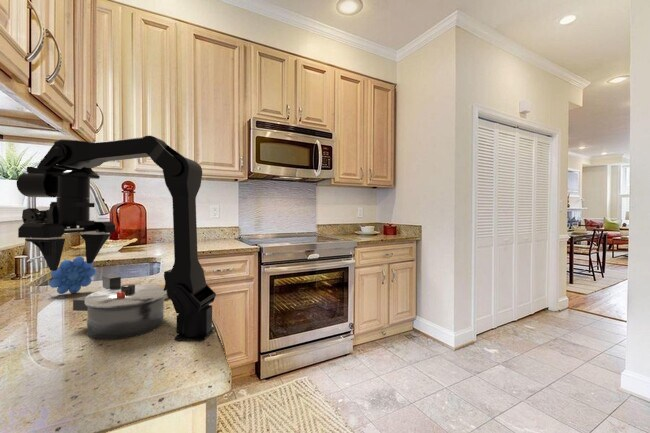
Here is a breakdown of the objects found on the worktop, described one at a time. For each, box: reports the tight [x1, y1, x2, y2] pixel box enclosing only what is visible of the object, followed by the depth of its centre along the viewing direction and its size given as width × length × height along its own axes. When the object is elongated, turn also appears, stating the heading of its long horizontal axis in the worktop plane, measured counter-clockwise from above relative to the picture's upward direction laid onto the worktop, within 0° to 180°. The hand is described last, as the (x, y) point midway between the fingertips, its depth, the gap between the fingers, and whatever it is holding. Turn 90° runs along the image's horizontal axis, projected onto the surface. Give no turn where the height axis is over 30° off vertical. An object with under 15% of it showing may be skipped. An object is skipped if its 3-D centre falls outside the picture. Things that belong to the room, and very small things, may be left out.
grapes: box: [49, 256, 97, 295], centre depth 97 cm, size 12×7×12 cm, turn 129°
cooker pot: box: [72, 295, 165, 341], centre depth 70 cm, size 20×15×7 cm
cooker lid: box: [85, 274, 166, 308], centre depth 71 cm, size 21×16×4 cm
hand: (72, 266), depth 66 cm, fingers open, 9 cm apart
